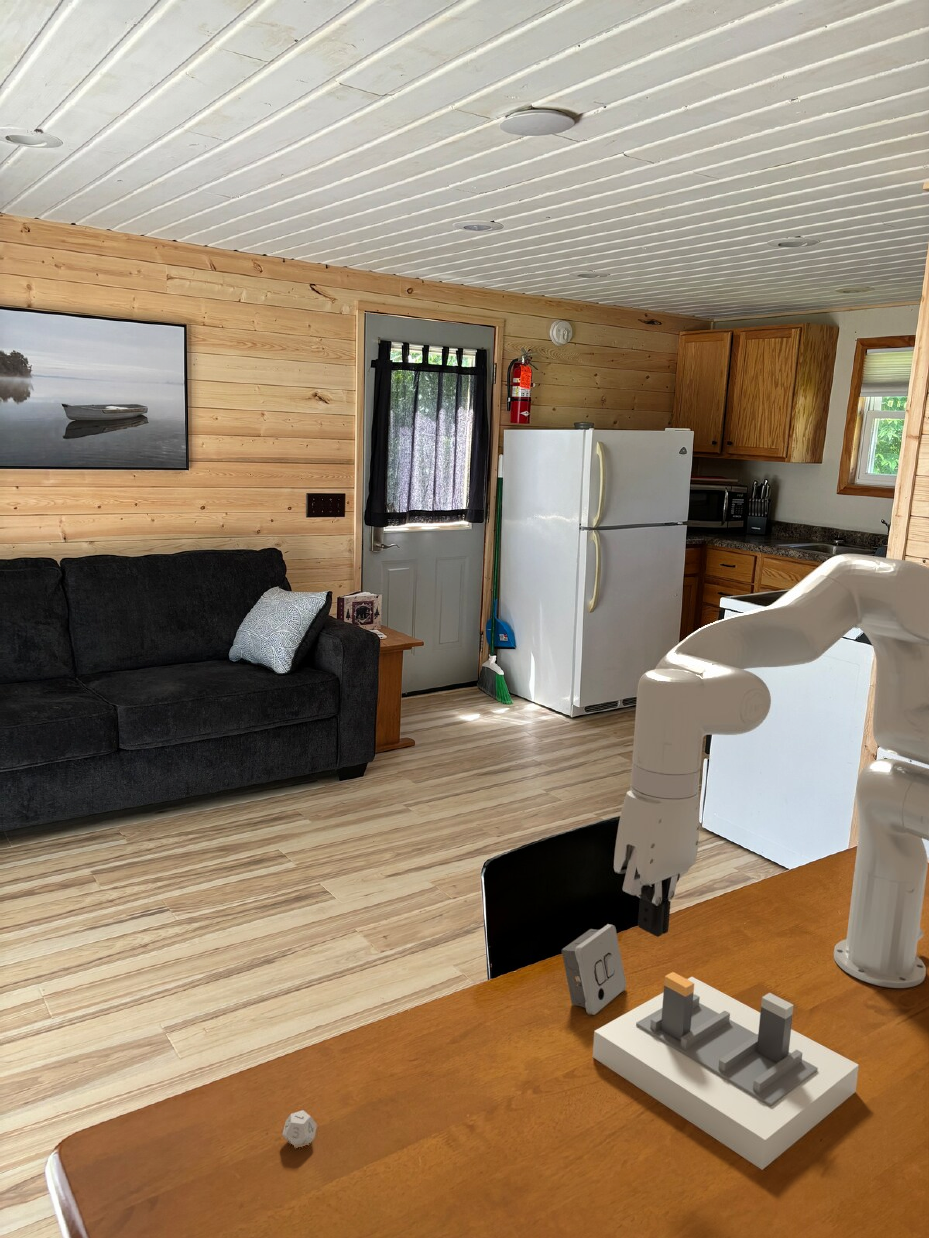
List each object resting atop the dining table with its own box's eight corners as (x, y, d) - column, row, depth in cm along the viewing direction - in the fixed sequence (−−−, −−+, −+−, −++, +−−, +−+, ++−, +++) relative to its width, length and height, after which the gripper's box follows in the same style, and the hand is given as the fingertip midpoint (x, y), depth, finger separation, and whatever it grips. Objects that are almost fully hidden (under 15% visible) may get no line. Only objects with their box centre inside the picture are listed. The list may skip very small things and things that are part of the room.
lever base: (689, 1000, 133) (696, 924, 131) (855, 1091, 115) (865, 1005, 113) (592, 1056, 120) (597, 973, 118) (762, 1169, 102) (772, 1074, 100)
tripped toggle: (668, 1024, 120) (672, 971, 119) (689, 1036, 118) (694, 983, 116) (660, 1029, 119) (664, 975, 118) (681, 1041, 117) (686, 987, 115)
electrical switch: (592, 1018, 128) (590, 952, 127) (559, 1007, 131) (557, 942, 130) (627, 989, 135) (625, 926, 134) (595, 979, 138) (593, 917, 137)
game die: (295, 1125, 106) (295, 1101, 106) (323, 1136, 105) (323, 1112, 104) (276, 1146, 103) (275, 1121, 103) (304, 1158, 102) (304, 1133, 101)
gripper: (678, 758, 116) (666, 899, 119) (595, 783, 106) (585, 936, 109) (731, 776, 110) (717, 924, 113) (649, 803, 101) (636, 964, 104)
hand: (652, 929), depth 111 cm, fingers closed
